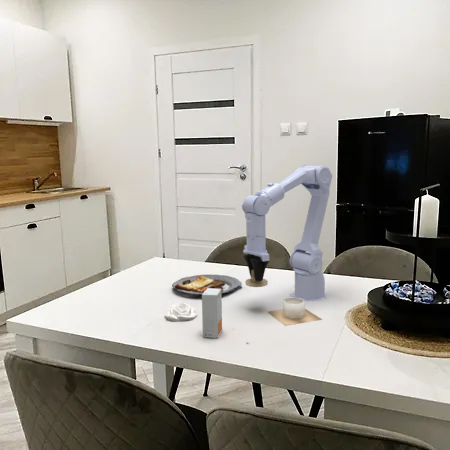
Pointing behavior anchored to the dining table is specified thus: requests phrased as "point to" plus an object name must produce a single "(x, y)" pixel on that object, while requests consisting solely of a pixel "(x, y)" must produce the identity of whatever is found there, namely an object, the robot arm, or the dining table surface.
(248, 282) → the lid
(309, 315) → the square wooden coaster
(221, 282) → the food plate
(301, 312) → the jar
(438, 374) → the dining table surface
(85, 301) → the dining table surface
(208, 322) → the skincare box
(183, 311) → the rose
